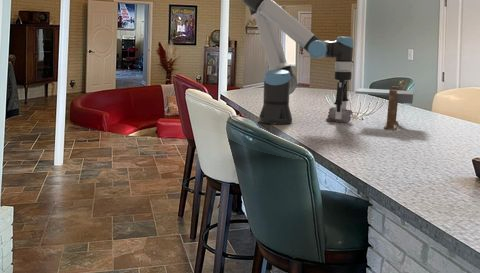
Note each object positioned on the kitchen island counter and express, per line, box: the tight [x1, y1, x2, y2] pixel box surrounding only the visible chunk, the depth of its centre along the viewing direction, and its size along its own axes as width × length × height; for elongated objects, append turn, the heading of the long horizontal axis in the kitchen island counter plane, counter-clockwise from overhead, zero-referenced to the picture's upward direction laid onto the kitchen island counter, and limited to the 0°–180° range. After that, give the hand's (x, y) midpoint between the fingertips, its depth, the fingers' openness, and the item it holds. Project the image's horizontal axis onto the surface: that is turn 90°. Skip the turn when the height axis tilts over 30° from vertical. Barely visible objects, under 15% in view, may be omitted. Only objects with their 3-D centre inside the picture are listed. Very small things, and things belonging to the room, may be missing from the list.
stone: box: [325, 106, 354, 123], centre depth 218 cm, size 8×12×7 cm, turn 65°
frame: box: [383, 85, 400, 131], centre depth 209 cm, size 5×22×17 cm, turn 159°
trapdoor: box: [354, 87, 415, 105], centre depth 209 cm, size 24×16×4 cm, turn 69°
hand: (340, 116), depth 218 cm, fingers open, 13 cm apart
